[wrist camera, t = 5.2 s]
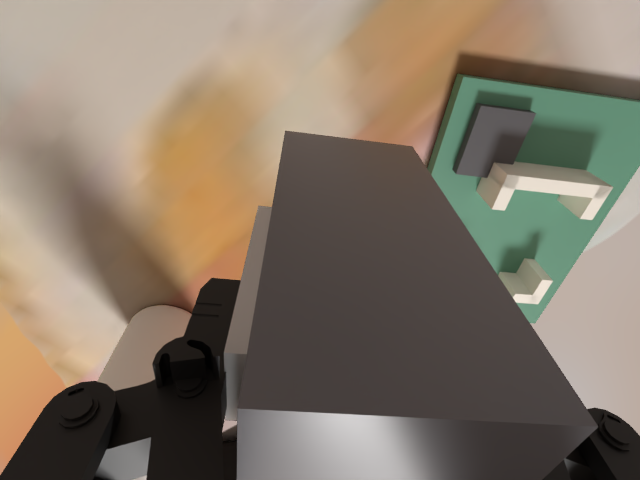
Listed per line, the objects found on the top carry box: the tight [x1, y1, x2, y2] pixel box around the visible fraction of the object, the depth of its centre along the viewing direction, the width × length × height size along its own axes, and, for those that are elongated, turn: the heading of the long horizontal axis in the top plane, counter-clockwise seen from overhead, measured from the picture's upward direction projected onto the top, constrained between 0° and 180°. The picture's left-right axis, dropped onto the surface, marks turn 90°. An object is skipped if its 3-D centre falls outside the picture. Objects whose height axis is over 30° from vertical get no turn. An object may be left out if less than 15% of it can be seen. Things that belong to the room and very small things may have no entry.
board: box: [427, 74, 640, 323], centre depth 30 cm, size 22×16×4 cm
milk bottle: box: [97, 305, 192, 480], centre depth 30 cm, size 8×8×20 cm
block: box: [237, 131, 598, 480], centre depth 11 cm, size 9×4×10 cm, turn 172°
